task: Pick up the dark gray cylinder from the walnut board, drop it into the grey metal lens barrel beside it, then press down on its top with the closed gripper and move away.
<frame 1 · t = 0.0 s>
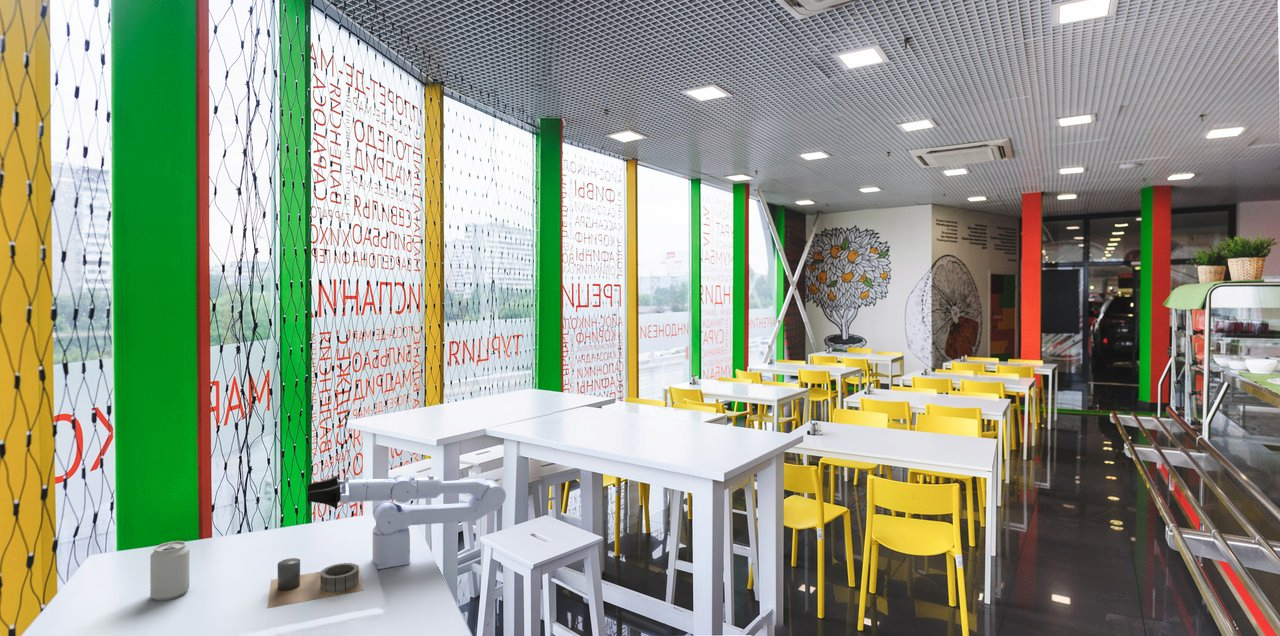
hand: (307, 492, 158), 22 cm above the table, tool horizontal, fingers open, 7 cm apart
can: (170, 595, 148), on the table
dark gray cylinder: (288, 586, 151), point 1 cm above the table, touching barrel mount
barrel mount: (316, 589, 152), on the table
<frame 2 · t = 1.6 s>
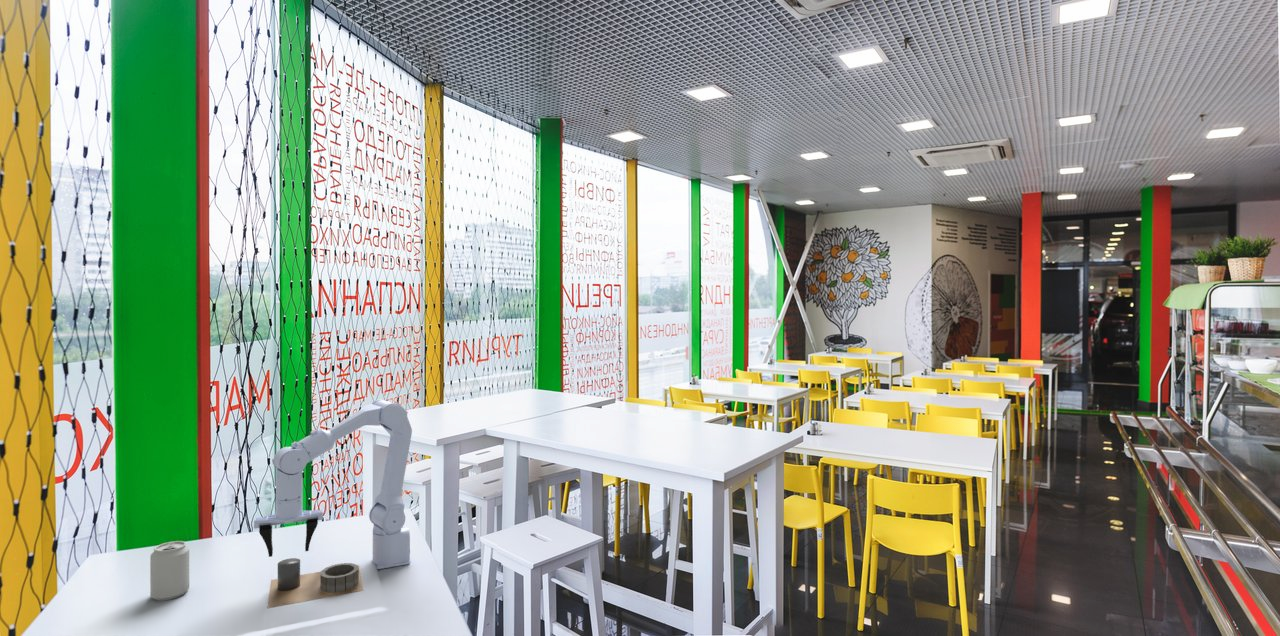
hand: (289, 552, 151), 9 cm above the table, tool pointing down, fingers open, 7 cm apart
nothing on the table moved.
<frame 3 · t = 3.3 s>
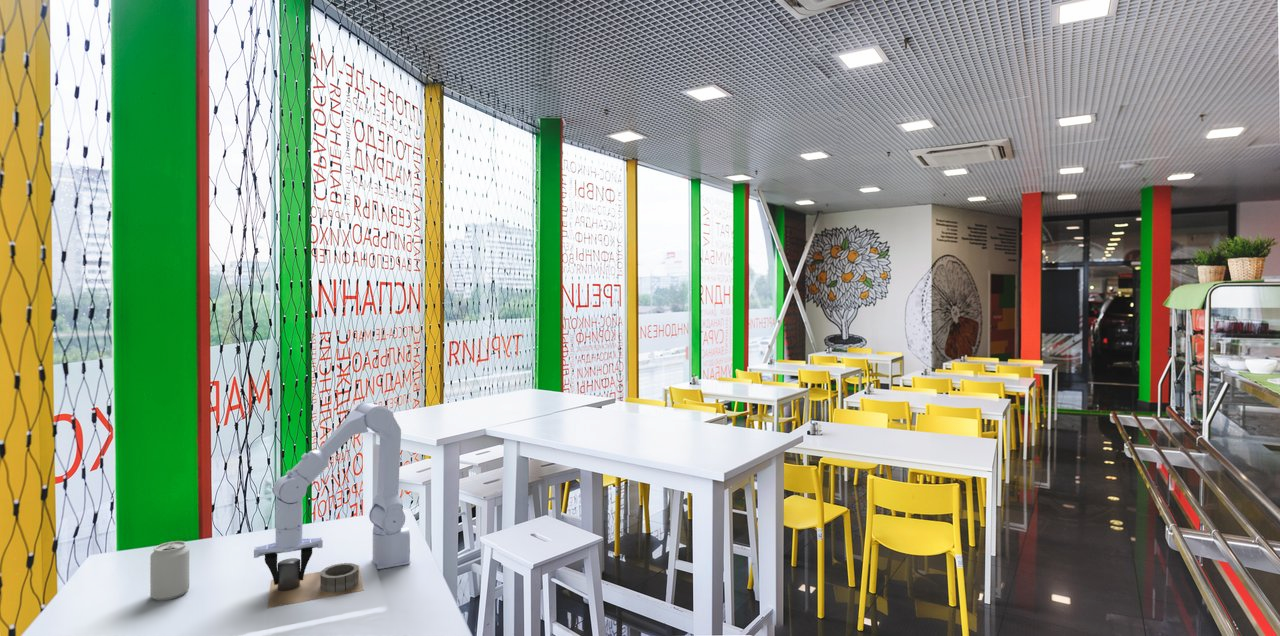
hand: (288, 580, 151), 2 cm above the table, tool pointing down, fingers closed on dark gray cylinder, 5 cm apart
dark gray cylinder: (288, 586, 151), point 1 cm above the table, touching barrel mount, gripper
everything else where it was.
when the fingers open (7 cm above the table, at t = 6.6 s): dark gray cylinder drops 5 cm, resting on barrel mount.
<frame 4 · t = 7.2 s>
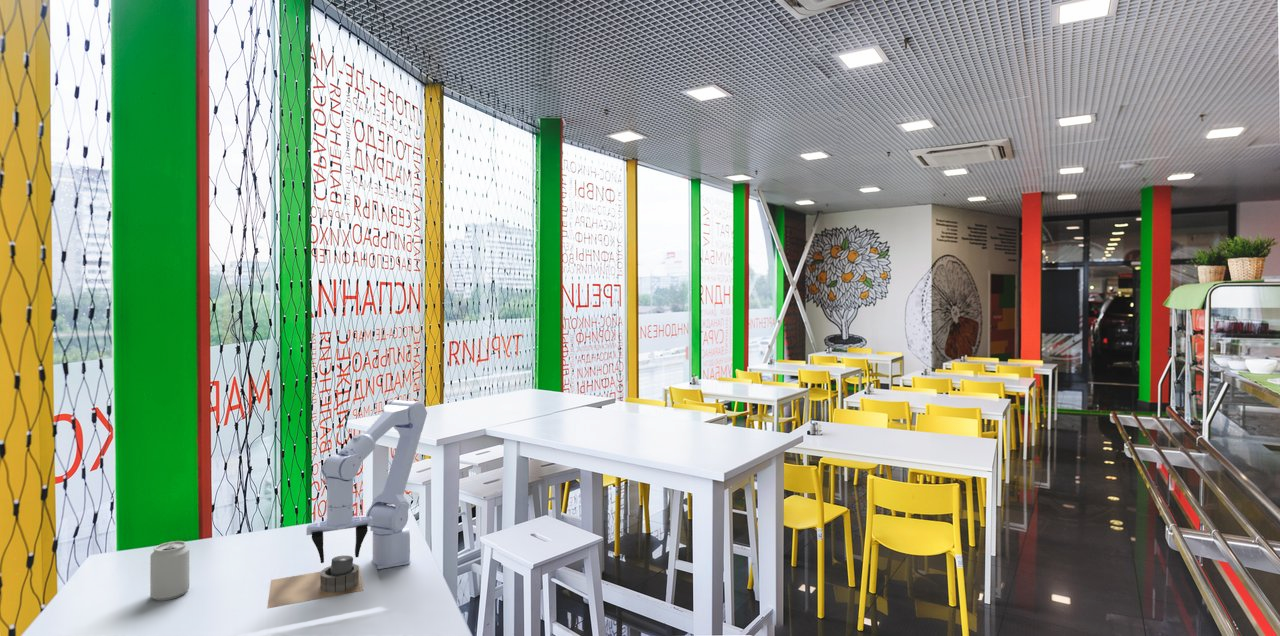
hand: (339, 558, 152), 7 cm above the table, tool pointing down, fingers open, 7 cm apart
dark gray cylinder: (340, 583, 153), point 1 cm above the table, touching barrel mount
everything else where it was.
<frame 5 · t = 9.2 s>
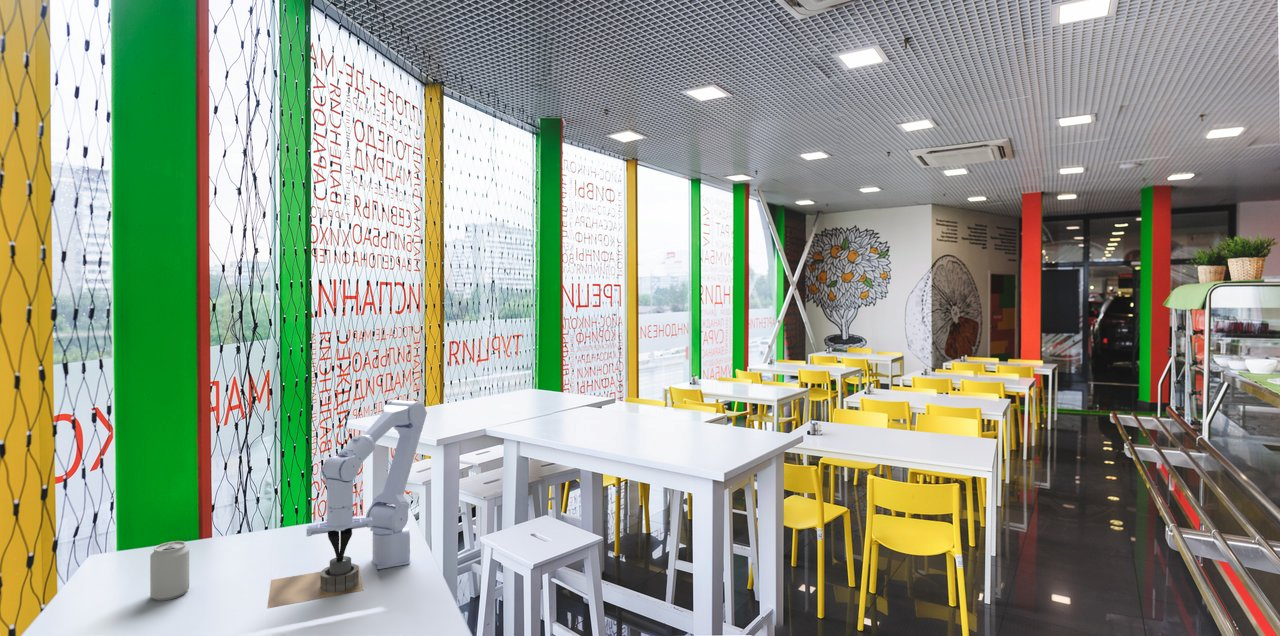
hand: (339, 559, 152), 7 cm above the table, tool pointing down, fingers closed
nothing on the table moved.
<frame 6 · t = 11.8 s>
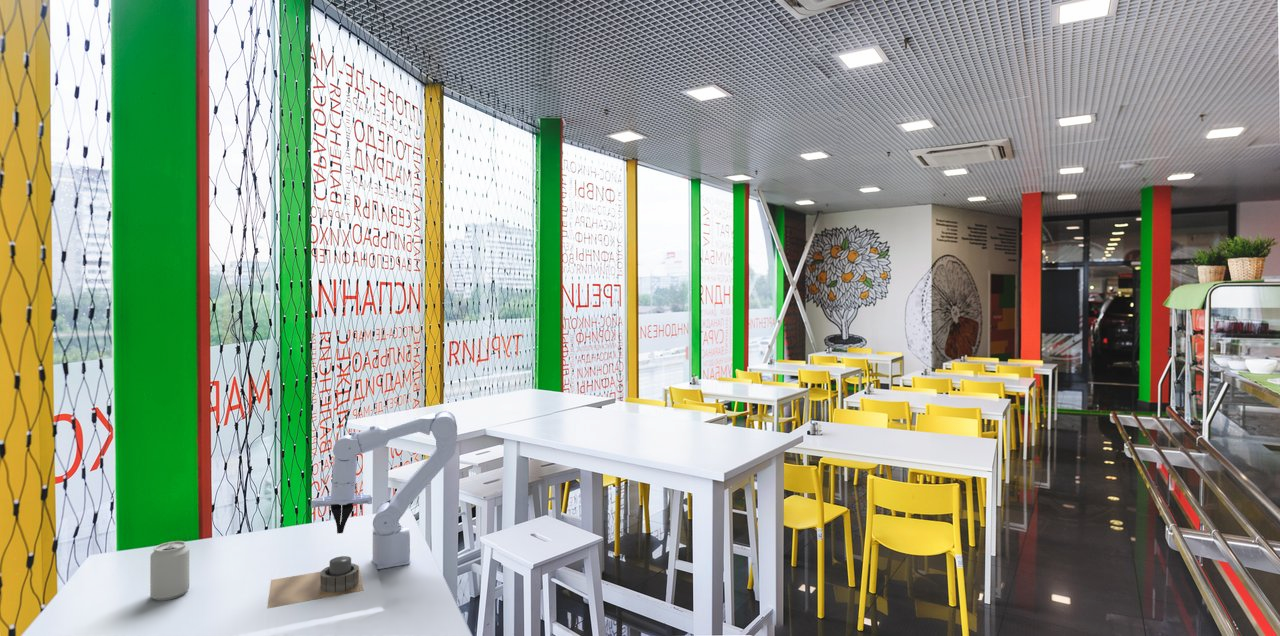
hand: (339, 532, 164), 9 cm above the table, tool pointing down, fingers closed
nothing on the table moved.
at the end: dark gray cylinder 0.2 cm from the target spot on the barrel mount, point 1.0 cm above the barrel mount's base; dark gray cylinder tilted 0°; the gripper is holding nothing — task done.
